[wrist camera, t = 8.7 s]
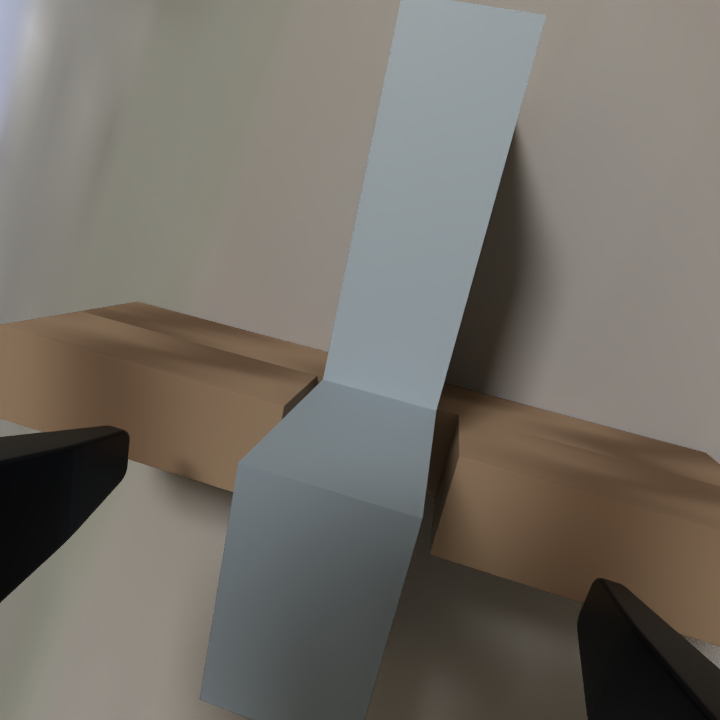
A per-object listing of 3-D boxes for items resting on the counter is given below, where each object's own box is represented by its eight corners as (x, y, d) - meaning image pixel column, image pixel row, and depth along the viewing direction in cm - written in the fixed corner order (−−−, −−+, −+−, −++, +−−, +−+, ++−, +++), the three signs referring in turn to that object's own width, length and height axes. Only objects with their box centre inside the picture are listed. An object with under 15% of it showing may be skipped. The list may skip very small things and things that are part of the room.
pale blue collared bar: (422, 88, 13) (352, -239, 4) (512, 104, 12) (633, -214, 4) (302, 621, 18) (154, 978, 9) (364, 643, 17) (273, 1036, 9)
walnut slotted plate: (706, 452, 13) (842, 565, 9) (673, 524, 14) (783, 666, 9) (137, 301, 16) (-1, 324, 11) (131, 368, 17) (-2, 417, 12)
